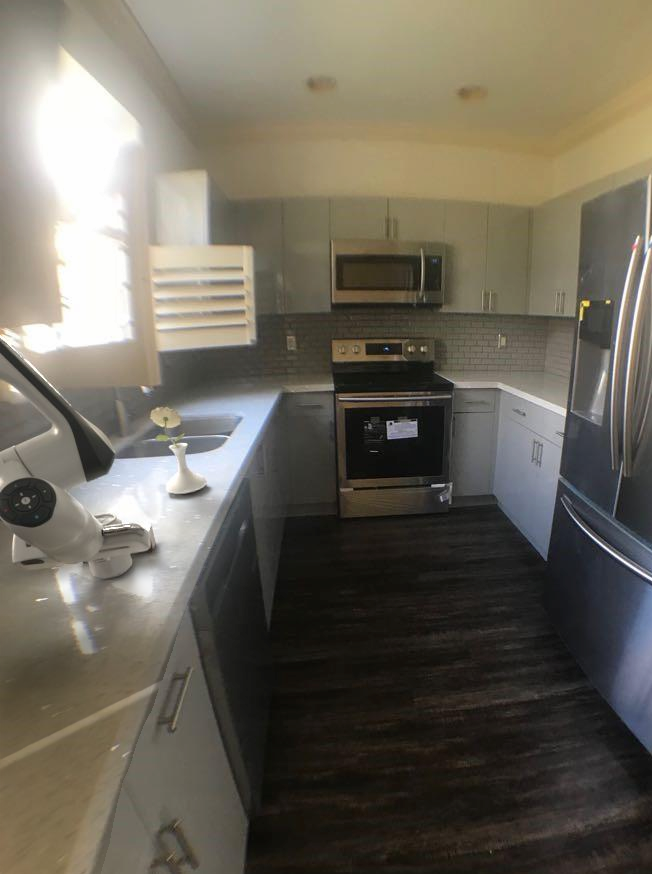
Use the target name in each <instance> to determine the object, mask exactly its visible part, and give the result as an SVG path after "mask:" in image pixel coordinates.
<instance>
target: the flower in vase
mask: <svg viewBox="0 0 652 874" xmlns="http://www.w3.org/2000/svg"><path fill="white" fill-rule="evenodd" d="M149 419H150V420H151V421H152V422H153V423H155V424H156V426H159V427H161V428H163V427H164V429H165V430H164V431H165V434H162V433H160V434H157V436H155V439H154V441H162V442H167V441H168V439H169V440H170V441H171V442H172V443H173V444H171V445H169V446H168V449H170V450H171V451H172V452H173V454H174V455H175V458H176V460H177V467H178V469H177V471H176V473H175V474H174V475H173V476H171V478H170V479H169V480H168V481H167V483H166V484H165V490H166V491H167V492H168V493H170V494H175V495H184V494H189V493H195V492H197V491H198V490H201V489H203V488H204V487H206V485H207V482H208V480H207V479H206V477H204V476H202V475H201V474H199V473H197V472H195V471H193V470H191V469H190V468H189V467H188V464H187V459H186V450H187V447H188V445H189V444H188V443H186V442H178V441H180V440H181V439H183V437H184V436H185V434H186V432H184V433H182V434H180V435H178V436H177V437H176V438H175V439H174V440H173V439H172V438H171V437H170V436H169V434H168V429H169V428H170V429H173V428H174V427H175V428H176V427H178V426H181V422H182V417H181V415H180V414H179V412H178V411H176V410H175V409H173V408H172V409H171V408H170V407H168V406H166V407H164V406H159V407H158V406H157V407H155V409H152V410H151V411H150V417H149ZM177 442H178V443H177Z"/></svg>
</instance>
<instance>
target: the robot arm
mask: <svg viewBox="0 0 652 874" xmlns="http://www.w3.org/2000/svg"><path fill="white" fill-rule="evenodd" d="M0 381H3V382H5V383H7V384H9V385H10V386H12V387H13V388H14V389H15V390H17V391H18V393H20V394H21V396H23V397H24V398H25V399H26V400H27V401H28V402H29V403H30V404H31V405H32V406H33V407H35V409H36V410H37V411H39V413H40V414H42V416H44V418H46V419H47V420H48V422H50V423H51V428H50V429H49V430H47V431H45V432H43V433H41V434H39V435H36V436H34V437H32V438H30V439H27V440H25V441H23V442H21V443H18V444H16V445H12V446H10V447H8V448H6V449H4V450H1V451H0V521H1V522H2V523H3V525H5V527H7V529H8V530H10V531H11V533H12V534H13V536H12V544H11V560H12V564H13V565H16V566H18V567H20V568H21V569H23V570H27V571H37V570H43V569H47V568H53V567H58V566H59V567H60V566H66V565H76V564H81V563H83V562H91V563H92V564H93V563H99V562H104V561H110V557H113V556H119V555H125V554H131V553H137V552H143V551H147V550H148V549H149V548H150V546H151V541H150V533H149V532H148V531H147V530H146V529H145V528H143V527H142V526H141V525H140V524H138V523H134V522H125V523H124V522H123V523H122V524H118V525H111V526H104V527H103V526H102V524H101V523H100V522H99V521H98V520H97V519H96V518H95V517H94V515H93V514H92V513H91V512H90V511H89V510H88V509H86V508H85V507H83V505H82V504H81V502H79V500H77V499H76V498H75V497H74V496H72V495H71V493H69V491H71V490H73V489H75V488H77V487H79V486H81V485H83V484H85V483H90V482H92V481H94V480H97V479H99V478H102V477H105V476H106V475H108V474H109V473H110V471H111V469H112V467H113V465H114V462H115V459H116V454H117V453H116V452H115V448H114V446H113V444H112V442H111V441H110V439H109V438H108V437H107V435H106V434H105V433H104V432H103V431H102V430H101V429H100V428H98V427H97V426H96V425H95V424H93V423H92V422H91V421H89V420H88V419H87V418H85V417H84V416H83V415H82V414H81V413H80V412H79V411H78V410H76V409H75V407H73V405H72V404H71V403H70V402H69V401H68V400H67V399H66V398H65V397H64V396H63V395H62V394H61V393H60V392H59V391H58V390H57V389H56V388H55V387H54V386H53V385H52V384H51V383H50V382H49V381H48V380H47V378H45V377H44V376H43V375H42V374H41V373H40V372H39V371H38V370H37V368H36V367H34V366H33V365H32V364H31V363H30V362H29V361H28V360H27V359H26V358H25V357H24V356H23V355H22V354H21V353H20V352H19V351H18V350H17V349H16V348H15V347H14V346H13V345H12V344H10V343H9V342H8V341H7V340H6V339H5V338H4V337H2V336H1V335H0Z"/></svg>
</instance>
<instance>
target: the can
mask: <svg viewBox="0 0 652 874" xmlns="http://www.w3.org/2000/svg"><path fill="white" fill-rule="evenodd" d="M93 516H94V517H95V518H96V519H97V520H98V521H99V522H100V523H101V524H102V526H103V527H104V526H111V525H118V524H123V521H122V519H119V518H117V516H118V515H116V514H115V513H109V512H108V513H107V512H105V513H99V514H95V515H93ZM133 562H134V561H133V559H132V555H130V554H125V555H119V556H113V557H110V561H104V562H99V563H93V564H92V563H91V562H88V567H89V570H90V572H91V575H92V576H93V577H96V578H98V579H102V580H105V579H107V580H109V579H113V578H116V577H119V576H121V575H123V574H125V573H126V572H128V571H129V570H130V568H131V566H132V565H133Z"/></svg>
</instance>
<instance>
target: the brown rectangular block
mask: <svg viewBox="0 0 652 874" xmlns="http://www.w3.org/2000/svg"><path fill="white" fill-rule="evenodd" d="M140 526H142V527H143V528H145V529H146V530H147V531H148V532H149V533H150V541H151V546H150V548H149V549H148V550H147V551H143V552H137V553H131V554H130V555H131V556H134V555H139V554H145V553H151V552H155V548H156V544H157V542H156V538H155V534H154V533H155V532H154V530H153V525H152V523H147V524H142V525H140ZM87 563H88V562H82V564H87ZM88 564H89V563H88Z"/></svg>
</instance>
